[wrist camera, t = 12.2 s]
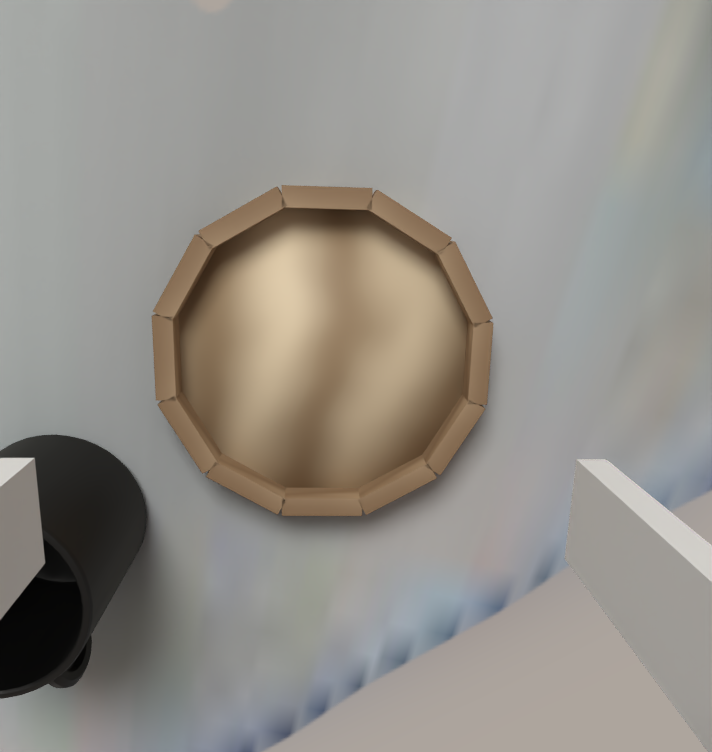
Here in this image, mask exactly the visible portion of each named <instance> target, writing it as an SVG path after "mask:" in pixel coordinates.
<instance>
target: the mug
mask: <svg viewBox="0 0 712 752" xmlns="http://www.w3.org/2000/svg"><path fill="white" fill-rule="evenodd" d="M0 458H35V467H36V477H37V487H38V496H39V506H40V516H41V526H42V536H43V546H44V556H45V564H44V565H43V567H42V568H41V569H40V570H39V572H38V573H37V574H36V575H35V577H34V578H33V579H32V580H31V582H30V583H29V584H28V586H27V587H26V588H25V589H24V591H23V592H22V593H21V594H20V596H19V597H18V598H17V599H16V601H15V602H14V603H13V604H12V606H11V607H10V608H9V610H8V611H7V612H6V613H5V615H4V616H3V617H2V618H1V620H0V698H8V697H13V696H18V695H22V694H25V693H28V692H31V691H34V690H36V689H38V688H40V687H42V686H44V685H46V684H50V685H51V686H53V687H56V688H67V687H70V686H73V685H75V684H76V683H77V682H78V681H79V679H80V678H81V677H82V675H83V673H84V671H85V669H86V667H87V665H88V662H89V659H90V654H91V643H92V640H91V634H92V632H93V630H94V628H95V627H96V625H97V623H98V621H99V620H100V618H101V616H102V614H103V613H104V611H105V609H106V607H107V605H108V604H109V602H110V600H111V598H112V597H113V595H114V593H115V591H116V590H117V588H118V586H119V584H120V583H121V581H122V579H123V577H124V575H125V574H126V572H127V570H128V568H129V567H130V565H131V563H132V561H133V560H134V558H135V556H136V554H137V552H138V551H139V549H140V546H141V544H142V542H143V539H144V534H145V529H146V509H145V504H144V500H143V497H142V493H141V491H140V489H139V486H138V484H137V482H136V481H135V479H134V477H133V476H132V474H131V473H130V472H129V470H128V469H127V468H126V467H125V466H124V465H123V464H122V463H121V461H119V460H118V459H117V458H116V457H115V456H113V455H112V454H111V453H110V452H108V451H107V450H105V449H103V448H101V447H100V446H98V445H96V444H93V443H91V442H88V441H86V440H83V439H79V438H75V437H70V436H62V435H42V436H35V437H30V438H26V439H23V440H21V441H18V442H15V443H13V444H11V445H10V446H8V447H6V448H4V449H3V450H1V451H0Z"/></svg>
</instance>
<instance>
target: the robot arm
mask: <svg viewBox="0 0 712 752" xmlns="http://www.w3.org/2000/svg"><path fill="white" fill-rule="evenodd" d="M565 560H566V561H567V563H568V564H569V565H570V567H571V568H572V569H573V571H574V572H575V573H576V575H577V576H578V577H579V579H580V580H581V581H582V583H583V584H584V585H585V587H586V588H587V589H588V591H589V592H590V594H591V595H592V596H593V598H594V599H595V600H596V602H597V603H598V604H599V606H600V607H601V608H602V610H603V611H604V612H605V614H606V615H607V616H608V618H609V619H610V620H611V622H612V623H613V625H614V626H615V627H616V629H617V630H618V631H619V633H620V634H621V635H622V637H623V638H624V639H625V641H626V642H627V643H628V645H629V646H630V647H631V649H632V650H633V652H634V653H635V654H636V656H637V657H638V658H639V660H640V661H641V662H642V664H643V665H644V666H645V668H646V669H647V670H648V672H649V673H650V674H651V676H652V677H653V679H654V680H655V681H656V683H657V684H658V685H659V687H660V688H661V689H662V691H663V692H664V693H665V695H666V696H667V697H668V699H669V700H670V701H671V703H672V704H673V706H674V707H675V708H676V710H677V711H678V712H679V714H680V715H681V716H682V718H683V719H684V720H685V722H686V723H687V724H688V726H689V727H690V728H691V730H692V731H693V733H694V734H695V735H696V737H697V738H698V739H699V740H700V742H701V743H702V745H703V746H704V747H705V749H706V750H707V751H708V752H712V545H710V544H709V543H708V542H707V541H706V540H704V539H703V538H702V537H701V536H699V535H698V534H697V533H696V532H694V531H693V530H692V529H691V528H689V527H688V526H687V525H686V524H685V523H683V522H682V521H681V520H680V519H678V518H677V517H676V516H675V515H674V514H672V513H671V512H670V511H669V510H668V509H666V508H665V507H664V506H663V505H661V504H660V503H659V502H658V501H656V500H655V499H654V498H653V497H652V496H650V495H649V494H648V493H647V492H645V491H644V490H643V489H642V488H641V487H639V486H638V485H637V484H636V483H634V482H633V481H632V480H631V479H630V478H628V477H627V476H626V475H625V474H623V473H622V472H621V471H620V470H618V469H617V468H616V467H615V466H614V465H612V464H611V463H610V462H609V461H607V460H606V459H576V468H575V476H574V484H573V493H572V501H571V510H570V518H569V527H568V535H567V543H566V552H565ZM44 564H45V556H44V546H43V536H42V526H41V516H40V506H39V496H38V487H37V477H36V467H35V458H0V620H1V618H2V617H3V616H4V615H5V613H6V612H7V611H8V610H9V608H10V607H11V606H12V604H13V603H14V602H15V601H16V599H17V598H18V597H19V596H20V594H21V593H22V592H23V591H24V589H25V588H26V587H27V586H28V584H29V583H30V582H31V580H32V579H33V578H34V577H35V575H36V574H37V573H38V572H39V570H40V569H41V568H42V567H43V565H44Z"/></svg>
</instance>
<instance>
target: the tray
mask: <svg viewBox="0 0 712 752" xmlns="http://www.w3.org/2000/svg"><path fill="white" fill-rule="evenodd" d="M199 233H200V234H197V235H194V237H193V239H192V241H191V243H190V244H189V246H188V248H187V250H186V252H185V253H184V255H183V257H182V259H181V261H180V263H179V264H178V266H177V268H176V270H175V272H174V274H173V275H172V277H171V279H170V281H169V283H168V285H167V286H166V288H165V290H164V292H163V294H162V296H161V297H160V299H159V301H158V303H157V305H156V307H155V308H154V310H153V312H155V313H157V314H155V315H153V316H152V329H153V349H154V369H155V389H156V400H162V401H161V402H160V403H159V404H158V406H159V408H160V409H161V411H162V413H163V414H164V416H165V417H166V419H167V420H168V422H169V423H170V425H171V426H172V428H173V429H174V431H175V432H176V434H177V435H178V437H179V438H180V440H181V442H182V443H183V445H184V446H185V448H186V449H187V451H188V452H189V454H190V455H191V457H192V458H193V460H194V461H195V463H196V464H197V466H198V467H199V469H200V471H201V472H202V474H203V473H205V472H207V471H208V470H209V472H208V474H207V476H206V477H207V478H209V479H211V480H213V481H215V482H217V483H219V484H221V485H222V486H224V487H226V488H228V489H230V490H232V491H234V492H236V493H238V494H239V495H241V496H243V497H245V498H247V499H249V500H251V501H253V502H255V503H256V504H258V505H260V506H262V507H264V508H266V509H268V510H270V511H271V512H273V513H275V514H277V515H278V513H279V511H280V510H281V508H282V516H362V509H363V510H364V512H365V514H366V515H367V514H369V513H371V512H373V511H375V510H377V509H379V508H381V507H382V506H384V505H386V504H388V503H390V502H392V501H394V500H396V499H398V498H400V497H402V496H404V495H406V494H407V493H409V492H411V491H413V490H415V489H417V488H419V487H421V486H423V485H425V484H427V483H429V482H431V481H433V480H434V479H436V478H437V477H436V475H435V473H434V472H436V473H437V474H439V475H441V473H442V472H443V470H444V469H445V468H446V466H447V465H448V463H449V462H450V460H451V459H452V457H453V456H454V454H455V453H456V451H457V450H458V448H459V447H460V445H461V444H462V443H463V441H464V440H465V438H466V437H467V435H468V434H469V432H470V431H471V429H472V428H473V426H474V425H475V423H476V422H477V420H478V419H479V417H480V416H481V415H482V413H483V412H484V410H485V408H484V407H483V406H482V405H487V396H488V383H489V371H490V358H491V346H492V333H493V322H491V321H489V320H490V319H492V316H491V314H490V312H489V310H488V308H487V306H486V304H485V302H484V300H483V298H482V296H481V294H480V292H479V290H478V288H477V285H476V283H475V281H474V279H473V277H472V275H471V273H470V271H469V269H468V267H467V265H466V263H465V261H464V259H463V257H462V255H461V253H460V251H459V249H458V247H457V245H456V242H453V241H450V240H451V239H452V238H451V237H450V236H448V235H446V234H445V233H443V232H442V231H440V230H439V229H437V228H436V227H434V226H433V225H431V224H429V223H428V222H426V221H425V220H423V219H422V218H420V217H419V216H417V215H416V214H414V213H413V212H411V211H409V210H408V209H406V208H405V207H403V206H402V205H400V204H399V203H397V202H396V201H394V200H392V199H391V198H389V197H388V196H386V195H385V194H383V193H382V192H380V191H379V190H376V191H375V192H374V194H373V195H372V188H350V187H319V186H287V185H282V193H281V191H280V190H279V188H278V187H275V188H273V189H271V190H270V191H268V192H266V193H264V194H263V195H261V196H259V197H257V198H256V199H254V200H252V201H250V202H249V203H247V204H245V205H243V206H242V207H240V208H238V209H236V210H235V211H233V212H231V213H229V214H227V215H226V216H224V217H222V218H220V219H219V220H217V221H215V222H213V223H212V224H210V225H208V226H206V227H205V228H203V229H201V230H199Z"/></svg>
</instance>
